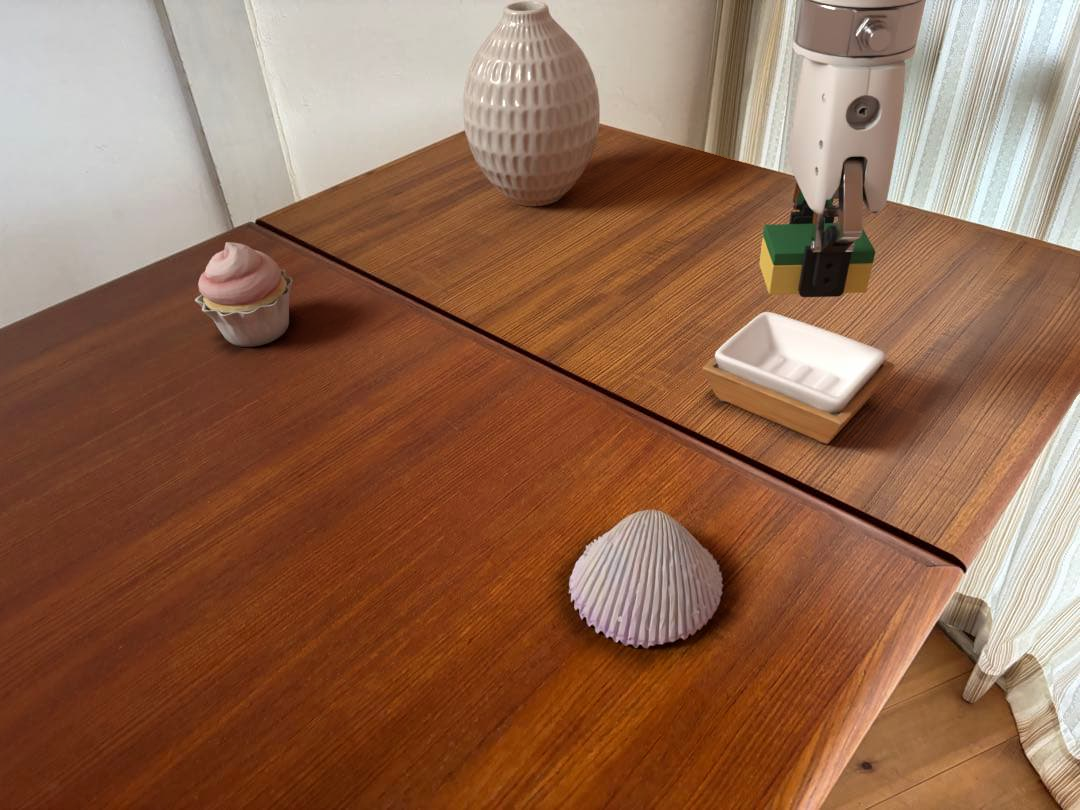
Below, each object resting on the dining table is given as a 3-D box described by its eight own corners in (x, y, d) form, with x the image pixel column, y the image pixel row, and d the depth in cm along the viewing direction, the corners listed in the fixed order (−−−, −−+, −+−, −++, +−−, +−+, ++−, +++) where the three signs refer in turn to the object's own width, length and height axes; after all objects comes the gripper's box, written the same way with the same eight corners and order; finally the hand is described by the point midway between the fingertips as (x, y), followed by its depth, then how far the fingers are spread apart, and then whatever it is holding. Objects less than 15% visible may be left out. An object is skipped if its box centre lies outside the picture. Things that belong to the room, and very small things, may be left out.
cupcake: (206, 318, 88) (176, 230, 81) (297, 298, 90) (274, 211, 84) (211, 367, 81) (178, 275, 74) (309, 344, 83) (285, 253, 77)
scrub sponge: (851, 262, 67) (859, 222, 64) (866, 293, 63) (876, 251, 61) (758, 264, 67) (764, 224, 65) (768, 295, 64) (774, 253, 61)
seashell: (726, 500, 59) (731, 590, 50) (718, 564, 62) (722, 660, 53) (581, 486, 61) (561, 571, 52) (578, 549, 63) (559, 641, 54)
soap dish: (887, 399, 72) (899, 350, 69) (834, 460, 66) (845, 410, 63) (756, 349, 79) (762, 302, 75) (698, 401, 73) (702, 352, 70)
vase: (465, 225, 101) (443, 29, 87) (478, 170, 114) (460, -9, 100) (601, 222, 100) (600, 22, 87) (598, 167, 113) (598, -15, 99)
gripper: (964, 64, 47) (893, 338, 58) (880, -11, 60) (836, 224, 71) (825, 69, 47) (782, 339, 59) (773, -6, 60) (746, 226, 72)
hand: (812, 274), depth 65 cm, fingers closed on scrub sponge, 4 cm apart
